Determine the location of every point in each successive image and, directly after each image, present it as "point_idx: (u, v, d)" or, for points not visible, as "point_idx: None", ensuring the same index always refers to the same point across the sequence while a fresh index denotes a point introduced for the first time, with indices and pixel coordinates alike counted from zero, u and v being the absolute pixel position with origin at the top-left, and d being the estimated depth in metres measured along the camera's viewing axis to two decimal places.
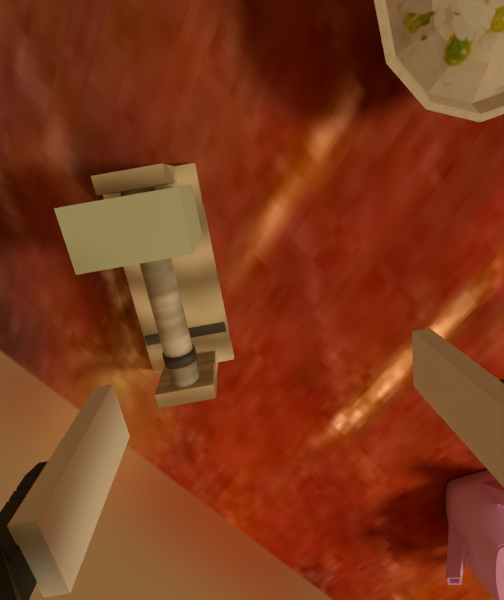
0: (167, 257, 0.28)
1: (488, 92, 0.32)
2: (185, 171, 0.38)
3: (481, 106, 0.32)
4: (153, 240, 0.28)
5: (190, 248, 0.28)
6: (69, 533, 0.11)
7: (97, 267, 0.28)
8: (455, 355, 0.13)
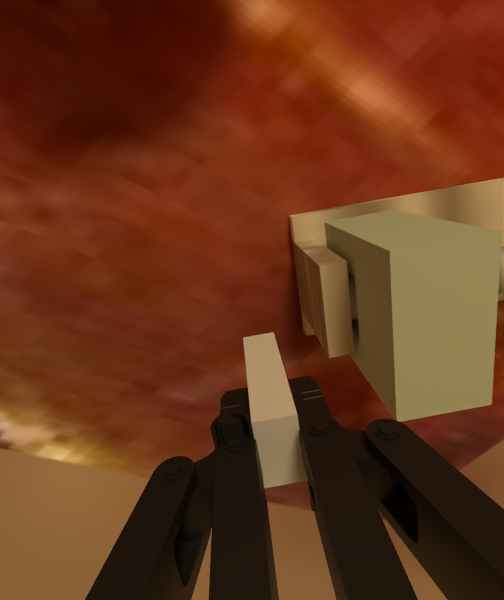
0: (497, 273, 0.17)
1: None
2: (301, 229, 0.28)
3: None
4: (466, 293, 0.17)
5: (490, 233, 0.16)
6: None
7: (487, 376, 0.18)
8: (272, 356, 0.15)
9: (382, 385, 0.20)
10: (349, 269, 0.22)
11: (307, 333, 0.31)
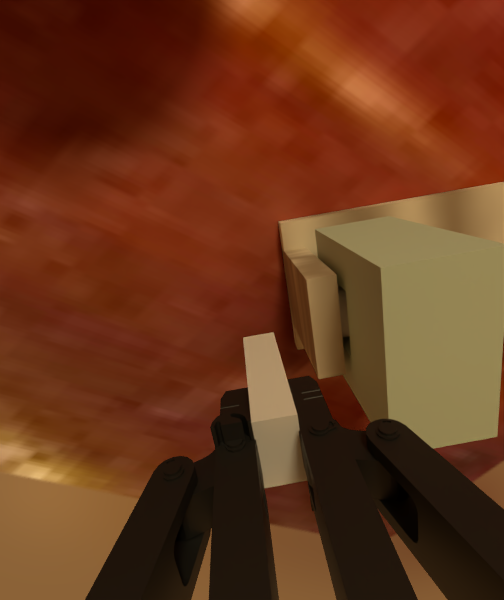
0: None
1: None
2: (291, 236, 0.26)
3: None
4: (468, 315, 0.15)
5: (496, 247, 0.14)
6: None
7: (493, 405, 0.16)
8: (272, 356, 0.15)
9: (375, 413, 0.18)
10: (340, 282, 0.20)
11: (298, 347, 0.29)
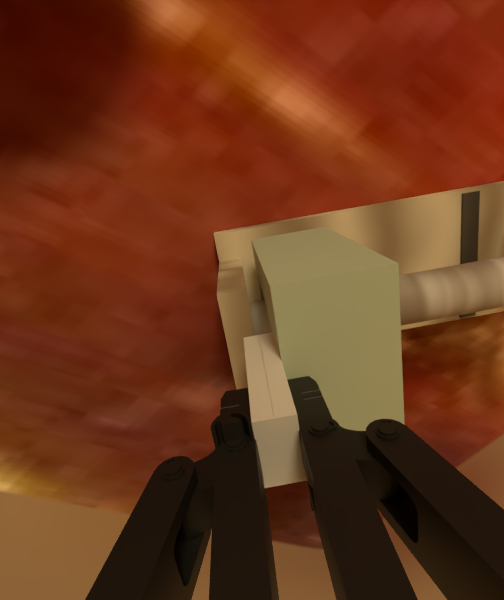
0: (397, 309, 0.15)
1: None
2: (225, 247, 0.26)
3: None
4: (364, 332, 0.15)
5: (386, 266, 0.14)
6: None
7: (398, 420, 0.16)
8: (272, 356, 0.15)
9: None
10: (263, 295, 0.20)
11: None
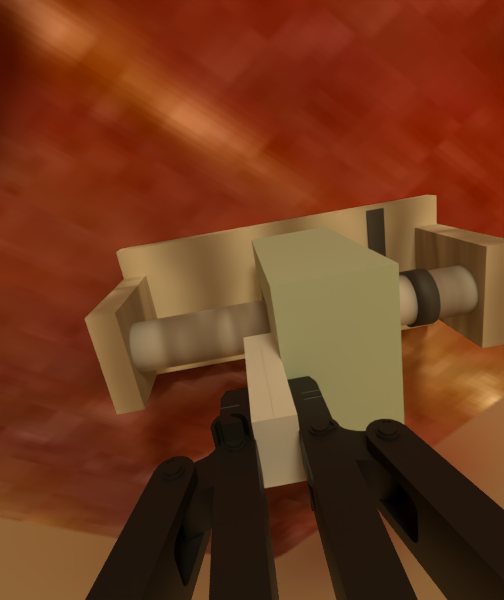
0: (397, 309, 0.15)
1: None
2: (129, 264, 0.26)
3: None
4: (364, 332, 0.15)
5: (386, 266, 0.14)
6: None
7: None
8: (272, 356, 0.15)
9: None
10: (263, 295, 0.20)
11: None
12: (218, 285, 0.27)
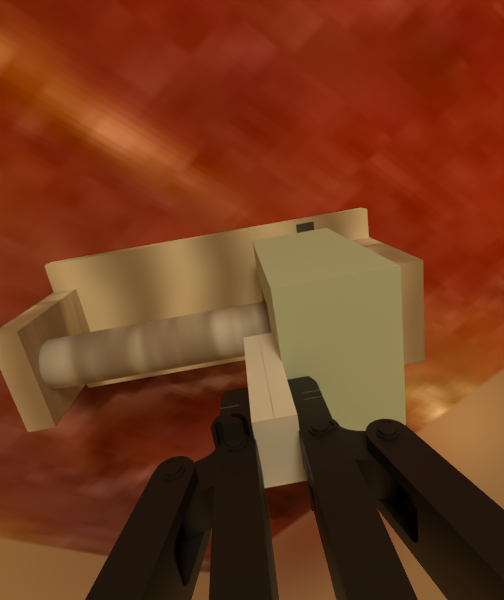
0: (399, 312, 0.15)
1: None
2: (58, 278, 0.26)
3: None
4: (365, 335, 0.15)
5: (388, 268, 0.14)
6: None
7: None
8: (272, 356, 0.15)
9: None
10: (264, 297, 0.20)
11: (88, 385, 0.29)
12: (150, 299, 0.27)
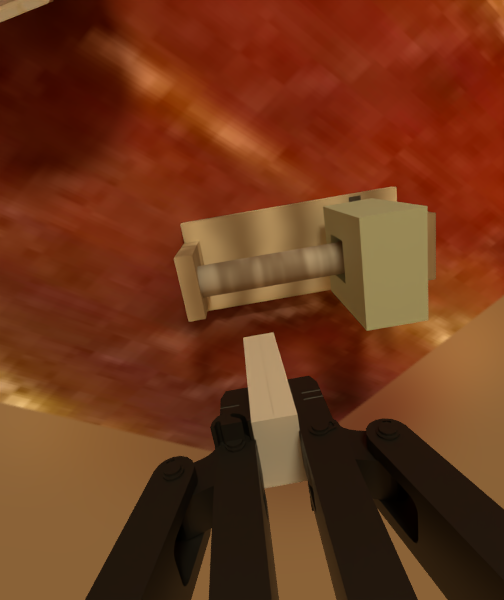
0: (426, 232, 0.27)
1: None
2: (188, 233, 0.39)
3: None
4: (407, 245, 0.27)
5: (420, 207, 0.27)
6: None
7: (424, 300, 0.29)
8: (272, 356, 0.15)
9: (358, 310, 0.31)
10: (339, 236, 0.33)
11: None
12: (247, 248, 0.40)
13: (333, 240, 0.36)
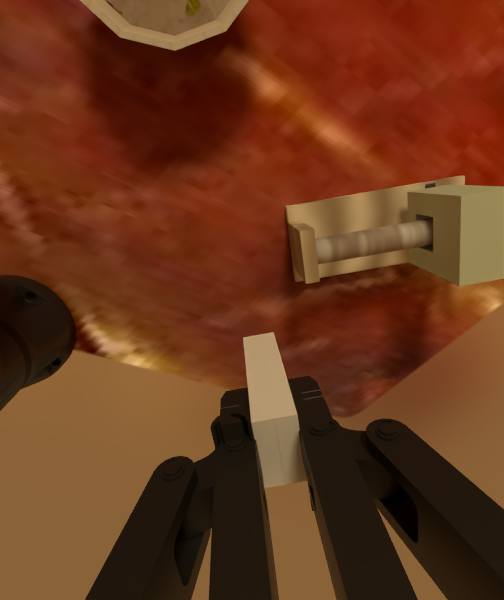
0: None
1: None
2: (292, 214, 0.47)
3: None
4: (496, 217, 0.35)
5: None
6: None
7: None
8: (272, 356, 0.15)
9: (450, 271, 0.39)
10: (428, 214, 0.41)
11: (296, 280, 0.50)
12: (340, 227, 0.48)
13: (417, 218, 0.44)
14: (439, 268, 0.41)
